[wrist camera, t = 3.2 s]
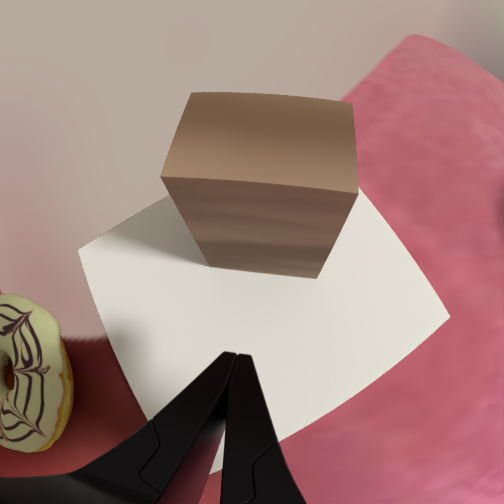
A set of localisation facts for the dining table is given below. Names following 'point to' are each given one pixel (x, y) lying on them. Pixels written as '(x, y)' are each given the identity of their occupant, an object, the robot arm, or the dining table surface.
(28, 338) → the decorated donut
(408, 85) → the dining table surface
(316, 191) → the walnut block
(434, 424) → the dining table surface
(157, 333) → the rubber mat
